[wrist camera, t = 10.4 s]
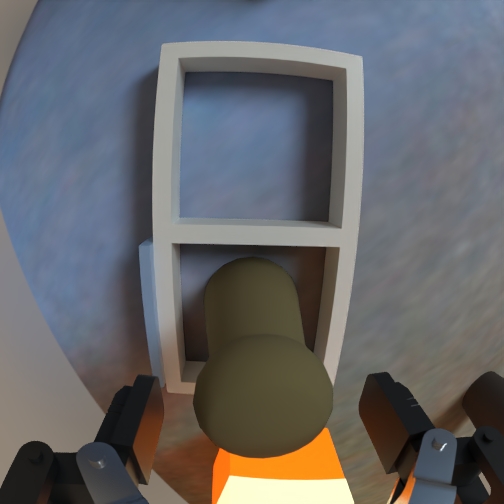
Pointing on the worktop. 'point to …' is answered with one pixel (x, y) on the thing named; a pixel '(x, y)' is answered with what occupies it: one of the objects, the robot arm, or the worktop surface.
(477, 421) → the coffee cup
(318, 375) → the olive rounded piece
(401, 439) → the robot arm
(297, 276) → the worktop surface
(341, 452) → the worktop surface
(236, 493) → the orange juice
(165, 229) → the white flat rectangular frame
